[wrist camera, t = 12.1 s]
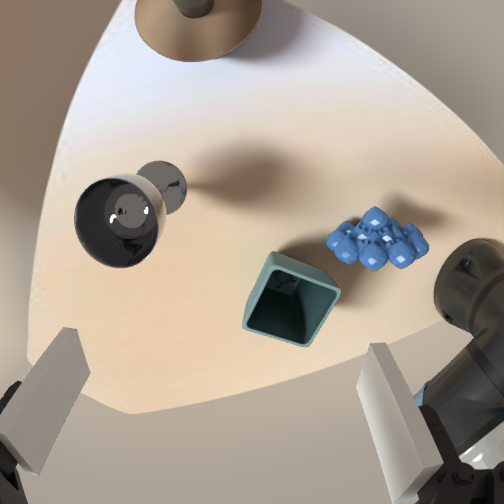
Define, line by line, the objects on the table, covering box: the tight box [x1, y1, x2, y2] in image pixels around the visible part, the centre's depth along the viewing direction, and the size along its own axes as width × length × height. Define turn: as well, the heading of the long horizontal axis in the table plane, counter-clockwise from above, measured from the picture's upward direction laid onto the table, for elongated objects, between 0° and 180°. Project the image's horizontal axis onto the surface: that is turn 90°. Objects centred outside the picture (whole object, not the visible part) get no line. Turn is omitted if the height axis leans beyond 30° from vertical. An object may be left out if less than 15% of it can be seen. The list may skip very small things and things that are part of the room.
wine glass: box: [74, 161, 186, 268], centre depth 32 cm, size 8×8×15 cm
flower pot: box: [242, 251, 342, 347], centre depth 40 cm, size 9×9×9 cm
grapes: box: [326, 206, 429, 271], centre depth 35 cm, size 12×7×12 cm, turn 100°
